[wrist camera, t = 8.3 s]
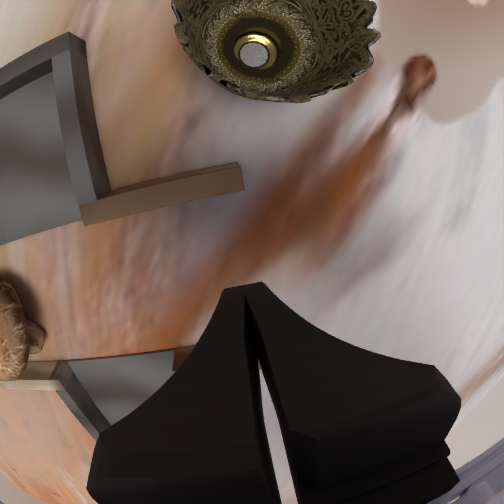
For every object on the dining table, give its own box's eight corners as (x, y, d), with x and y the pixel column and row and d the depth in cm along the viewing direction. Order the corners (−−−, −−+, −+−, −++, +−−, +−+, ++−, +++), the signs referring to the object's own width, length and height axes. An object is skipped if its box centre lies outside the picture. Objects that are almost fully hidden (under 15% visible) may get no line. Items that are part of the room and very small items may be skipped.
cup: (217, 133, 16) (219, 133, 9) (170, 27, 14) (143, -36, 6) (333, 92, 16) (409, 75, 9) (288, -9, 13) (332, -75, 6)
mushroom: (67, 381, 18) (-1, 399, 12) (24, 366, 21) (-30, 375, 15) (53, 276, 19) (-19, 275, 13) (14, 281, 22) (-42, 280, 16)
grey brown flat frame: (281, 417, 26) (286, 437, 24) (56, 432, 25) (51, 448, 23) (209, 7, 13) (209, -10, 11) (-77, 144, 12) (-95, 149, 10)
